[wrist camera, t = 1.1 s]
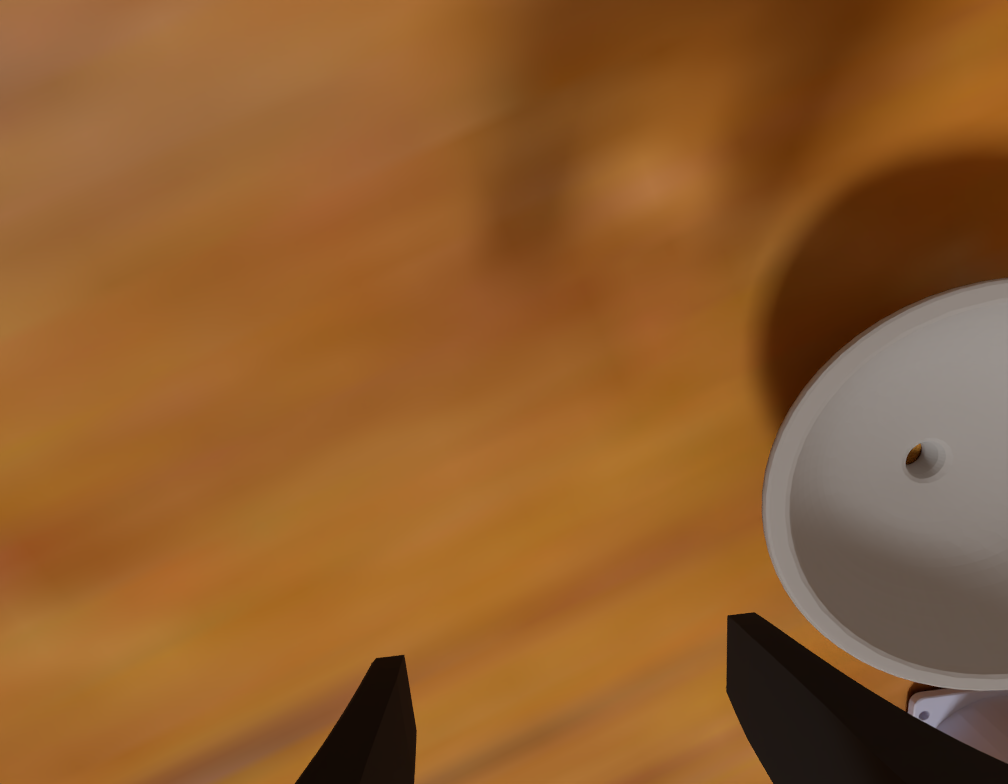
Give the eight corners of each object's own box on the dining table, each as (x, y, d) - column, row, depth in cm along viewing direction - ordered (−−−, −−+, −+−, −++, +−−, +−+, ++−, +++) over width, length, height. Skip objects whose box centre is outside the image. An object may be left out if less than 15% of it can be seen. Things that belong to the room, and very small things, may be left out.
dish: (1176, 349, 23) (1366, 378, 18) (996, 642, 26) (1116, 734, 21) (791, 206, 20) (892, 194, 16) (646, 549, 24) (692, 627, 19)
